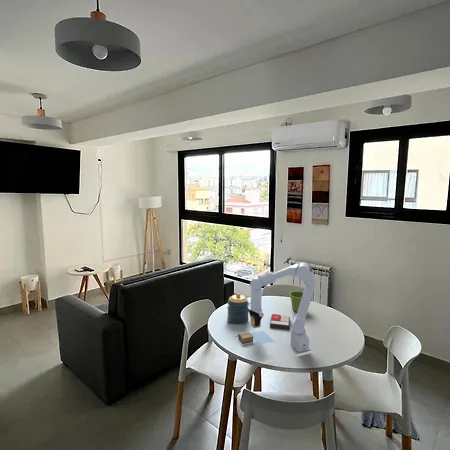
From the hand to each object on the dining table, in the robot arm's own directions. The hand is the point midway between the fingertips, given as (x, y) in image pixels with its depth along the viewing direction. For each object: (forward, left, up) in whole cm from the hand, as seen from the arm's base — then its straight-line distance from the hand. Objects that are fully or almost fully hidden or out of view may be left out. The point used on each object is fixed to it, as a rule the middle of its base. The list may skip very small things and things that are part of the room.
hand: (255, 323), depth 160 cm
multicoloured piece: (+11, -22, -10) cm, 27 cm away
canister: (+24, 0, -9) cm, 26 cm away
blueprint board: (0, +1, -9) cm, 9 cm away
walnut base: (0, +6, -8) cm, 10 cm away
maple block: (0, 0, -1) cm, 1 cm away
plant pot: (+25, -44, -9) cm, 52 cm away
